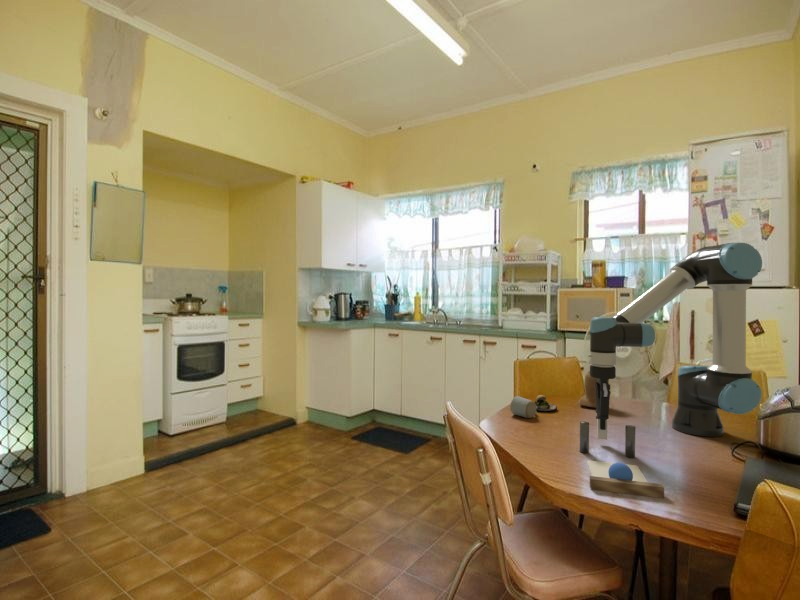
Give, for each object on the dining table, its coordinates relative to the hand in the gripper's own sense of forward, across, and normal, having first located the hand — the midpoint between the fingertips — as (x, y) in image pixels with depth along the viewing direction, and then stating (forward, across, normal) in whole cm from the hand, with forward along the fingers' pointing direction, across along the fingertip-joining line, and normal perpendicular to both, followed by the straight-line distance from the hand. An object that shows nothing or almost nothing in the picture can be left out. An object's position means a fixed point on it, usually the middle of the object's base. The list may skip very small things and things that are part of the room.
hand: (601, 438), depth 139 cm
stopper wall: (+2, +35, 0) cm, 35 cm away
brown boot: (+2, -53, +5) cm, 53 cm away
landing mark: (+2, +23, 0) cm, 23 cm away
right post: (+2, +9, +6) cm, 11 cm away
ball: (-1, +31, 0) cm, 31 cm away
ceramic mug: (+2, -28, -24) cm, 37 cm away
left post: (+2, +9, -6) cm, 11 cm away
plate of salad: (+3, -40, -17) cm, 44 cm away
